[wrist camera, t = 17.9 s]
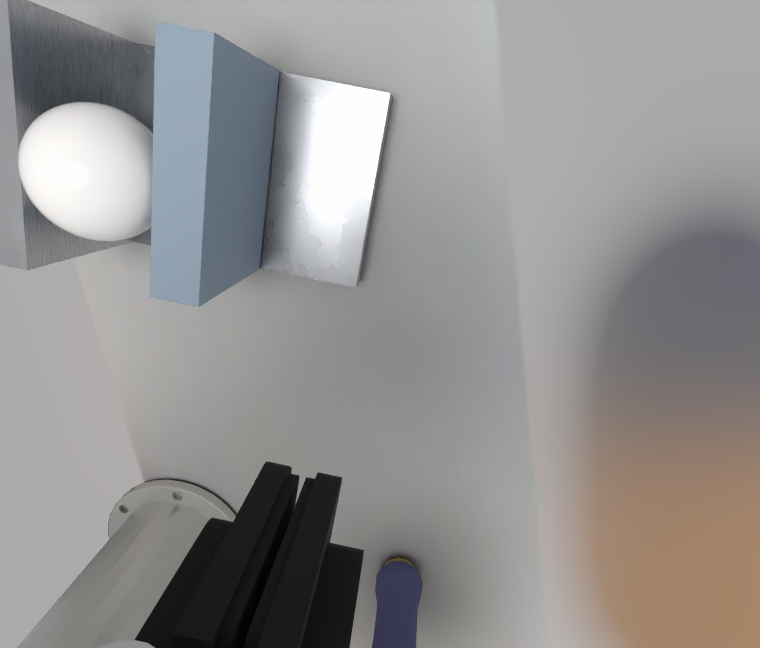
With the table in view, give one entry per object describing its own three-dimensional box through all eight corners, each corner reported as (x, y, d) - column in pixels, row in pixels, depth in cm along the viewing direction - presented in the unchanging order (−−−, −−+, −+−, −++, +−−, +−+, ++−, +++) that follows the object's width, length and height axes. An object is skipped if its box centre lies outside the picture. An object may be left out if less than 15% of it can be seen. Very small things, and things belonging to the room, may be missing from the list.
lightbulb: (151, 109, 29) (-28, 76, 19) (245, 131, 28) (111, 109, 18) (147, 211, 31) (-15, 231, 21) (234, 234, 31) (110, 266, 20)
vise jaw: (259, 268, 32) (198, 307, 23) (223, 260, 32) (150, 296, 23) (279, 71, 27) (214, 32, 19) (238, 62, 28) (155, 21, 19)
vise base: (360, 281, 33) (328, 335, 23) (117, 229, 34) (-20, 260, 24) (392, 97, 29) (372, 63, 19) (116, 43, 30) (-51, -20, 20)
